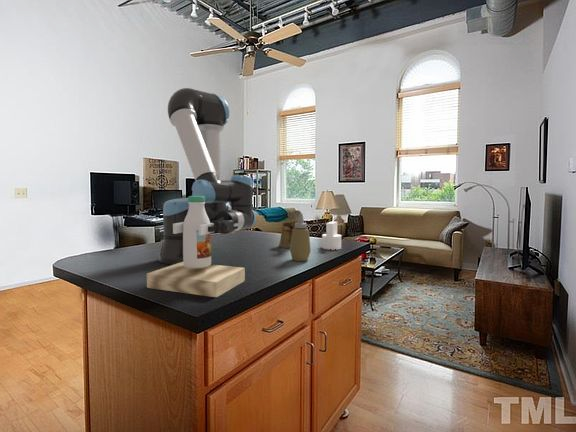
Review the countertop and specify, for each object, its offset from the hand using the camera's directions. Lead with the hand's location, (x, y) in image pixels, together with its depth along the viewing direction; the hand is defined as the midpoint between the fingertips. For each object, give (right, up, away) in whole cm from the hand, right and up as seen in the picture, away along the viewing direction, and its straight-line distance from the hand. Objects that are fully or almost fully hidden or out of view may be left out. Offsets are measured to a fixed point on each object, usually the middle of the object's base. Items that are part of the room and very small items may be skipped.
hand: (186, 229), depth 90 cm
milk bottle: (+1, -11, +6) cm, 12 cm away
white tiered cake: (+48, -12, +67) cm, 83 cm away
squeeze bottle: (+32, -14, +40) cm, 53 cm away
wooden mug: (+29, -11, +66) cm, 73 cm away
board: (+1, -16, +6) cm, 17 cm away
